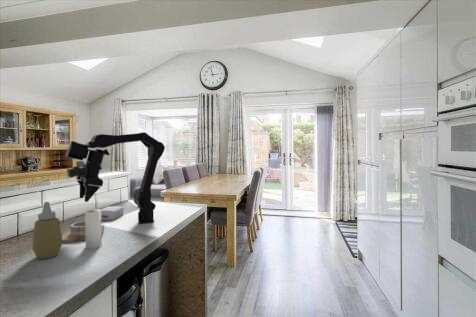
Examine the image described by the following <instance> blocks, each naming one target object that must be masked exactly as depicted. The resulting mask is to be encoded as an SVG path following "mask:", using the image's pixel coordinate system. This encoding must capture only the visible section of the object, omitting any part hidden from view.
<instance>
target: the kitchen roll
mask: <svg viewBox="0 0 476 317" xmlns="http://www.w3.org/2000/svg"><path fill="white" fill-rule="evenodd" d="M84 221H85V234H86V240H85V249H86V250H95V249H98V248H100V247H102V238H101V225H102V219H101V210H100V209H88V210H86V211H84Z"/></svg>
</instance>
